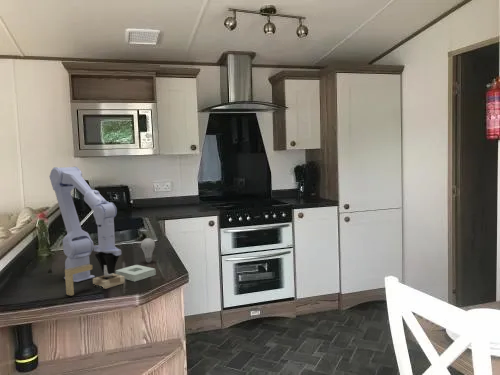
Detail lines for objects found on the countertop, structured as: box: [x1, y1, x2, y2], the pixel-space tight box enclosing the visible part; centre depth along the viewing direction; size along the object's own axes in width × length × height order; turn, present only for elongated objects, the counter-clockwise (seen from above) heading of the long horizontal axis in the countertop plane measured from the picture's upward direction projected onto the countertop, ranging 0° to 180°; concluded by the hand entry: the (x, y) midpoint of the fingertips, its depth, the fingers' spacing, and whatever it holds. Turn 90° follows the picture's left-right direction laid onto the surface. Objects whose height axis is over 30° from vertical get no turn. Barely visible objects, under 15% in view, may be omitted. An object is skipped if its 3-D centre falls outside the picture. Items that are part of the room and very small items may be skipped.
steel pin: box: [103, 264, 114, 280], centre depth 146 cm, size 3×3×7 cm
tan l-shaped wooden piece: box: [64, 264, 93, 296], centre depth 137 cm, size 3×8×9 cm, turn 143°
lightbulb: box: [140, 237, 156, 264], centre depth 175 cm, size 6×6×11 cm
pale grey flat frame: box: [114, 264, 157, 282], centre depth 156 cm, size 12×10×2 cm
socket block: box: [92, 273, 126, 289], centre depth 146 cm, size 8×8×2 cm
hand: (108, 272), depth 146 cm, fingers closed on steel pin, 3 cm apart
